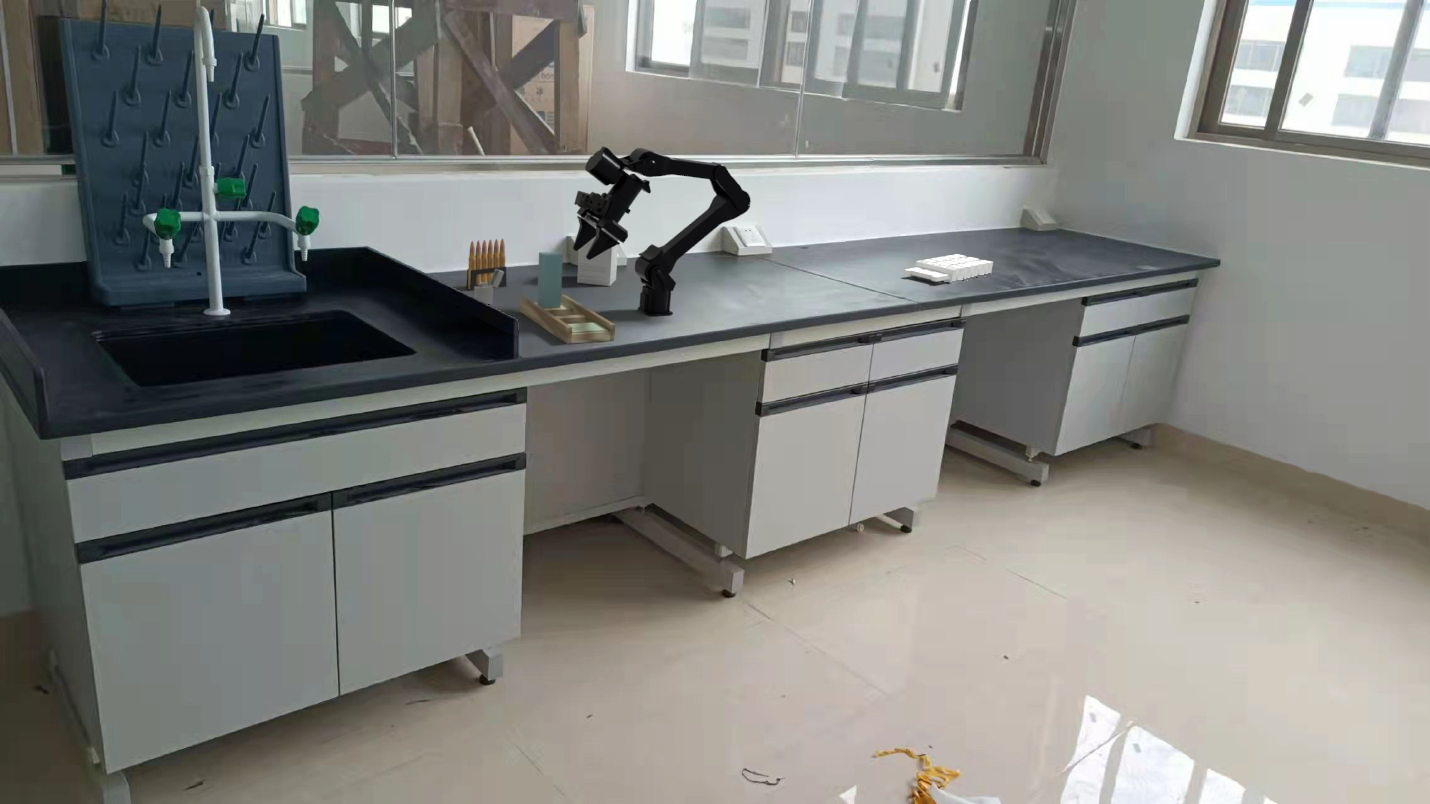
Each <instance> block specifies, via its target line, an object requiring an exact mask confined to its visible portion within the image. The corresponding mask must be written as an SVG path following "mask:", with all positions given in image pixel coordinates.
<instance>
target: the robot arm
mask: <svg viewBox="0 0 1430 804" xmlns="http://www.w3.org/2000/svg"><path fill="white" fill-rule="evenodd" d="M625 170H627V171H630V172H632V173H631V174H629V173H627V172H626V171H625ZM585 171H586V172H587V173H588V174H590V175H591V176H592V177H593V178H594V179H596V180H597V181H598V182H599V183H601V184H602V185H604V186H605V187H606V186H609V185H611V188H610V189H609V191H608V192H602V193H601V194H600V193H597V192H594V191H591V192H590V193H588V192H586V191H585V192H584V191H582V190H577V192H576V195H575V196H576V197H575V200H574V202H573V203H574V205H575V206H576V205H577V206H578V208H579V209H578V210H577V212H576V214H577V217H576V218H577V219H578V223H579V227H578V231H577V234H576V237H575V239H574V243H573V246H572V250H574V251H575V252H578V251H579V249H580V248H582V247H583V246H584V245H585V244H587V243H588V242H589V241H590V240H592V239H593V238H594V237H595V236H596V238H595V240H594V242H593V244H592V246H591V247H590V249H589V251H588V253H587V255H586V258H587V259H588V260H591V259H593V258H594V257H596V256H598V255H599V254H601V253H603V252H604V251H606V250H608V249H610V248H612V247H614V246H616V245H618V246H619V245H620V244H621V243H622V244H625V242H626V240H627V239H628V238H629V233H628V232H629V231H628V230H627V229H626V228H625V227H623V226H622V225H621V224H620V223H619V222H620V221H621V220H622V218H623V217H624V215H625V214H627V215H629V214H630V213H631V211H632V210H631V209H630V207H631V205H632V204H633V203H634V201H635V200H636V199H637V197H638V196H639V194H640V192H641V191H643V192H645V193H647V194H651V193H652V191H651V187H650V180H648V179H642V178H640V177H639V176H638V175H641V176H644V177H646V178H653V177H655V178H656V177H664V176H665V177H666V176H671V175H673V176H679V177H688V178H689V177H690V178H695V179H705V180H709V182H710V184H711V187H712V190H713V192H714V193H715V194H716V195H715V196H714V197H713V199H712V200H711V202H710V204H709V206H708V208H707V209H706V210H705V211H704V212H702V213H701V214H700V215H699V216H698V217H697V218H696V219H694V220H693V221H692V222H691V223H689V224H688V225H687V226H686V227H684V228H683V229H682V230H681V231H680V232H679V233H677V234H676V235H675V236H673V237H672V238H671V239H669V241H668V242H666V243H665V244H664V245H663V244H662V245H661V246H659V247H658V246H657V245H655V244H652V243H651V244H650V245H649V246H648V247H647V248H646V249H645V250H644V251H642V252H640V253H638V258H637V259H636V260H635V261H634V262H635V263H634V271H635V273H636V274H635V275H637V276H638V277H639V279H640V282H641V284H644V285H642V290H641V292H640V296H639V306H637V310H639V311H640V312H642V313H644V314H645V315H648V316H667V315H669V316H670V315H674V312H673V311H671V296H672V292H673V291H674V289H675V287H676V285H677V282H676V281H675V279H674V278H672V277H671V275H670V274H671V273H672V272H673V270H674V267H675V266H676V264H677V261H679V259H681V257H683V256H684V255H685V254H687V253H688V252H689V251H690V250H691V249H693V248H694V247H695V246H696V245H697V244H699V243H700V242H701V241H703V239H704V238H706V237H707V236H708V235H709V234H711V233H712V232H713V231H714V230H715V229H717V228H718V227H719V226H720V225H722V224H723V223H726V222H729V221H732V220H734V219H737V218H738V217H741V216H742V215H744V214H745V213H747V212H748V210H749V209H750V208H751V202H752V201H751V197H750V194H749V192H748V191H746V190H744V189H743V188H742V187H741V185H740V184H739V183H738V182H737V180H736V179H735V178H734V177H733V176H732V174H731V173H730V172H729V170H728V169H727V166H725V165H724V164H721V163H718V162H715V161H712V162H707V161H699V160H693V159H684V158H677V157H671V156H667V155H664V154H661V153H659V152H655V151H652V150H649V149H646V148H643V147H638V148H635V149H634V150H633V151H632V152H631V153H630V154H628V155H625V156H622V157H618V156H616V155H615V154H614V153H613V151H611V149H610V148H608V147H606V146H604V145H603V146H602V147H601V148H600V150H598V151H596V152H594V153H593V155H592V156H590V157H589V158H588V160H587V162H586V164H585ZM637 174H638V175H637ZM595 227H596V228H595ZM602 228H603V230H602Z"/></svg>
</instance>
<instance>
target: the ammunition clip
mask: <svg viewBox="0 0 1430 804" xmlns="http://www.w3.org/2000/svg"><path fill="white" fill-rule="evenodd" d="M481 246H482V247H481ZM505 249H506V244H505V241H504V238H501V240H500V244H499V240H498V239H497V238H496V239H495V240H494V245H493V241H492V239H489V241H488V244H487V242H486V239H484V240H483V242H482V245H481V242H480V240H477V242H476V246H475V243H474V240H472V241H471V242H470V246H469V253H468V268H467V269H466V270H467V272H466V273H467V274H466V290H467V291H471V292H473V291H474V287H476V286H479V283H480V282H488V285H489V283H490V281H491V278H492V276H493V273H494V271H495V269H498V270H501V271H503V272H504V274H503V276H502V279H501V281H500V284H499V286H498V288H497V289H499V288H505V287H507V286H508V285H507V284H508V282H507V266H506V250H505ZM493 289H496V288H495V287H493Z"/></svg>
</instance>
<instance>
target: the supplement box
mask: <svg viewBox="0 0 1430 804" xmlns="http://www.w3.org/2000/svg"><path fill="white" fill-rule="evenodd" d="M595 228H596V227H595ZM602 230H603V228H602ZM595 238H596V236H595V237H594V238H593V239H592V240H590V241H589V242H588V243H587V244H585V245H584V246H583V247H582V248H580V249H579V250H578V251H577V252H578V253H577V254H578V256H577V257H578V258H577V278H576V279H577V280H576V281H577V282H576V283H578V284H587V285H596V286H604V287H606V286H607V287H610V286H612V284H613V283H615V281H616V280H617V269H618V268H617V267H618V266H617V265H618V264H617V263H618V247H619V245H616V246H614V247H612V248H610V249H608V250H606V251H604V252H603V253H601V254H599V255H598V256H596V257H594V258H593V259H591V260H588V259H587V258H586V255H587V253H588V251H589V249H590V247H591V246H592V244H593V242H594V240H595Z"/></svg>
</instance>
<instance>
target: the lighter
mask: <svg viewBox="0 0 1430 804" xmlns="http://www.w3.org/2000/svg"><path fill="white" fill-rule="evenodd" d="M503 274H504V272H503V271H501V270H498V269H495V271H494V273H493V276H492V278H491V281H490V283H489V285H488V282H480V283H479V286H476V287H474V293H473V294H474V295H473V298H474V297H475V298H478V299H479V300H482V301H483V302H486V303H488V304H490V305H489V306H492V305H493V304H494V303H493V299H494V298H493V297H494V296H493V295H494V292H493V291H494V289H499V288H498V286H499V284H500V281H501V279H502V276H503ZM493 287H495V288H493Z"/></svg>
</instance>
